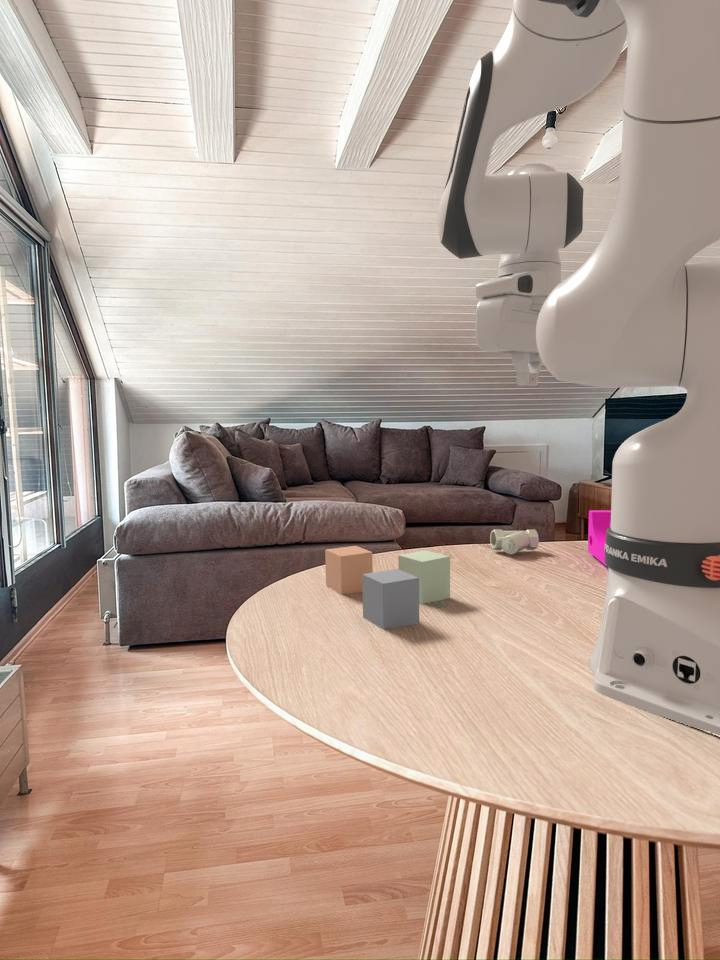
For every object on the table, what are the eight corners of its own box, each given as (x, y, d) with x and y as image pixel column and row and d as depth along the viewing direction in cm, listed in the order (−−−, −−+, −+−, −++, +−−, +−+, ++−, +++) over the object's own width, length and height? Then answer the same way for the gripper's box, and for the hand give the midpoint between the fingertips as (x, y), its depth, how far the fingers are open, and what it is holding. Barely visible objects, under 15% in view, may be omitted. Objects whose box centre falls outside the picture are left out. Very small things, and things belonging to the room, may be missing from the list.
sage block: (450, 599, 88) (450, 556, 87) (422, 606, 85) (422, 561, 84) (425, 591, 92) (425, 550, 91) (398, 597, 89) (398, 555, 89)
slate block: (419, 626, 77) (419, 577, 77) (383, 633, 75) (382, 583, 74) (397, 615, 82) (397, 568, 81) (363, 621, 79) (362, 574, 79)
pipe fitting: (503, 536, 112) (490, 527, 118) (502, 557, 112) (489, 547, 119) (547, 536, 113) (532, 527, 119) (545, 557, 113) (530, 547, 120)
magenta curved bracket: (654, 572, 101) (656, 525, 100) (613, 572, 102) (614, 525, 101) (623, 551, 116) (624, 510, 115) (587, 551, 116) (588, 510, 116)
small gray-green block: (447, 607, 84) (447, 606, 84) (440, 608, 84) (440, 607, 84) (438, 603, 86) (438, 602, 86) (431, 604, 85) (431, 603, 85)
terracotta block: (372, 593, 91) (372, 552, 91) (341, 598, 89) (340, 556, 88) (356, 585, 96) (355, 545, 95) (326, 590, 93) (325, 549, 93)
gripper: (548, 299, 102) (546, 387, 104) (467, 284, 88) (467, 385, 90) (585, 293, 97) (583, 385, 99) (506, 276, 84) (505, 383, 85)
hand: (527, 385), depth 94 cm, fingers closed
